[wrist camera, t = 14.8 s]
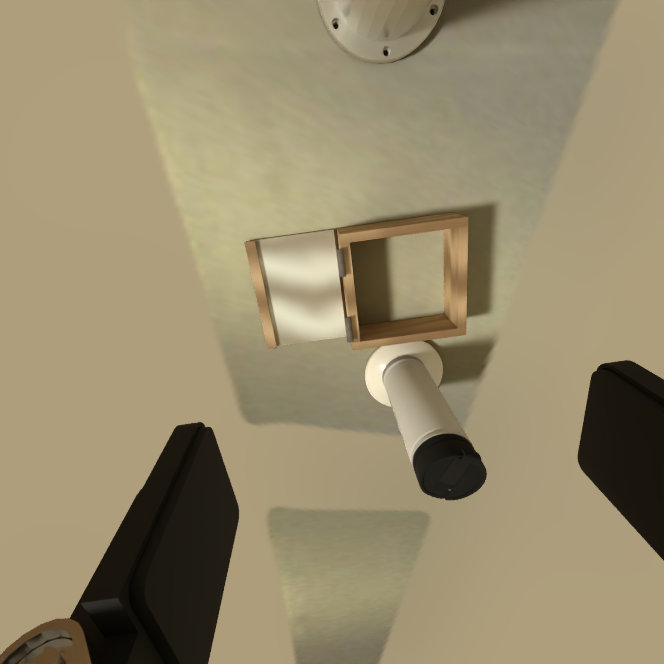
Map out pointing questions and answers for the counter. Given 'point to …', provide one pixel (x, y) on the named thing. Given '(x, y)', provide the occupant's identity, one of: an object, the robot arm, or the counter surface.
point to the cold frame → (349, 285)
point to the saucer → (391, 352)
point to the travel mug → (431, 432)
